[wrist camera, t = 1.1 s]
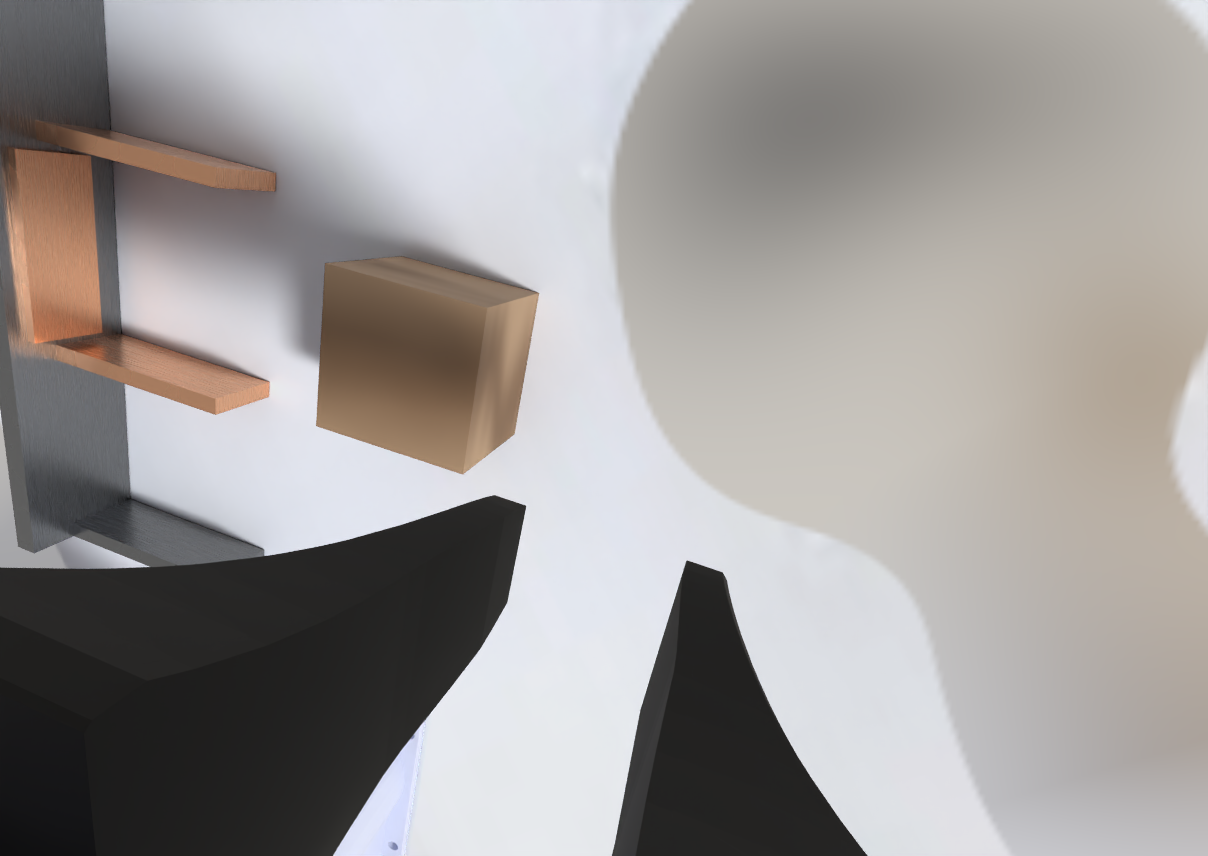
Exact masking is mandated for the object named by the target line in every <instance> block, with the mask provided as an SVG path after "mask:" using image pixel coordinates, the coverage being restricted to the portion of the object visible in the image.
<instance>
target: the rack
mask: <svg viewBox="0 0 1208 856" xmlns="http://www.w3.org/2000/svg"><path fill="white" fill-rule="evenodd" d="M112 160H113V161H117V162H121V163H125V164H128V165H132V166H136V167H139V168H143V169H147V170H151V171H154V172H158V173H162V174H166V175H169V176H173V177H177V178H181V179H184V180H188V181H192V182H195V183H199V184H203V185H207V186H210V187H214V188H226V189H243V190H260V191H275V182H276V173H274V172H270V171H266V170H262V169H258V168H254V167H250V166H246V165H243V164H239V163H235V162H231V161H227V160H223V159H219V158H215V157H212V156H208V155H204V154H200V153H196V152H192V151H188V150H184V149H181V148H177V147H173V146H169V145H165V144H161V143H157V142H153V141H150V140H146V139H142V138H138V137H134V136H130V135H126V134H122V133H119V132H115V131H111V130H110V118H109V100H108V82H107V64H106V46H105V27H104V9H103V0H0V410H1V417H2V425H3V433H4V440H5V447H6V456H7V463H8V471H9V479H10V486H11V494H12V501H13V510H14V517H15V525H16V532H17V540H18V546H19V547H21V548H23V549H25V550H28V551H30V552H33V553H36V552H38V551H40V550H43V549H45V548H47V547H49V546H52V545H54V544H56V543H59V542H61V541H63V540H65V539H68V538H70V537H72V536H75V537H78V538H80V539H83V540H85V541H88V542H90V543H93V544H95V545H98V546H100V547H103V548H105V549H108V550H110V551H113V552H115V553H118V554H120V555H123V556H125V557H128V558H130V559H133V560H135V561H138V562H140V563H143V564H145V565H147V566H150V567H162V566H177V565H192V564H203V563H212V562H220V561H228V560H237V559H245V558H253V557H261V556H264V550H263V549H260V548H258V547H255V546H252V545H250V544H247V543H244V542H242V541H239V540H237V539H234V538H231V537H229V536H226V535H224V534H221V533H218V532H216V531H213V530H210V529H208V528H205V527H203V526H200V525H197V524H195V523H192V522H189V521H187V520H184V519H182V518H179V517H176V516H174V515H171V514H169V513H166V512H163V511H161V510H158V509H155V508H153V507H150V506H148V505H145V504H142V503H140V502H137V501H135V500H132V499H130V481H129V463H128V445H127V427H126V409H125V390H124V384H127V385H130V386H133V387H136V388H139V389H142V390H145V391H148V392H151V393H154V394H157V395H159V396H162V397H165V398H168V399H171V400H174V401H177V402H180V403H183V404H186V405H189V406H191V407H194V408H197V409H200V410H203V411H206V412H209V413H212V414H215V415H216V414H219V413H222V412H225V411H228V410H231V409H234V408H237V407H240V406H243V405H246V404H249V403H252V402H255V401H258V400H261V399H264V398H267V397H269V382H267V381H264V380H261V379H258V378H255V377H252V376H249V375H245V374H242V373H239V372H236V371H233V370H230V369H227V368H224V367H221V366H218V365H215V364H212V363H209V362H206V361H203V360H200V359H197V358H193V357H190V356H187V355H184V354H181V353H178V352H175V351H172V350H169V349H166V348H163V347H160V346H157V345H154V344H151V343H148V342H145V341H141V340H138V339H135V338H132V337H129V336H126V335H123V334H121V318H120V300H119V282H118V263H117V245H116V227H115V209H114V191H113V173H112Z"/></svg>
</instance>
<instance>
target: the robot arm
mask: <svg viewBox="0 0 1208 856" xmlns="http://www.w3.org/2000/svg"><path fill="white" fill-rule="evenodd" d="M525 510H526V506H525V505H522V504H519V503H516V502H513V501H510V500H507V499H504V498H501V497H498V496H495V495H493V496H489V497H485V498H482V499H478V500H475V501H472V502H469V503H466V504H463V505H460V506H457V507H454V508H451V509H449V510H446V511H443V512H440V513H437V514H434V515H431V516H427V517H424V518H421V519H418V520H415V521H412V522H409V523H406V524H403V525H400V526H396V527H392V528H389V529H385V530H382V531H378V532H375V533H371V534H367V535H364V536H360V537H357V538H353V539H350V540H346V541H341V542H337V543H333V544H328V545H324V546H319V547H314V548H309V549H304V550H298V551H293V552H288V553H282V554H276V555H270V556H261V557H253V558H245V559H237V560H228V561H220V562H212V563H203V564H192V565H177V566H162V567H141V568H116V569H49V568H0V856H405V851H406V845H407V838H408V832H409V825H410V819H411V812H412V806H413V799H414V793H415V786H416V780H417V773H418V767H419V760H420V754H421V747H422V741H423V734H424V728H425V720H426V718H427V717H428V716H429V714H430V713H431V712H432V711H433V709H434V708H435V707H436V705H437V704H438V703H439V702H440V700H441V699H442V698H443V696H444V695H445V694H446V693H447V691H448V690H449V689H450V688H451V686H452V685H453V684H454V682H455V681H456V680H457V679H458V677H459V676H460V675H461V673H462V672H463V671H464V669H465V668H466V667H467V666H468V664H469V663H470V662H471V660H472V659H473V658H474V656H475V655H476V654H477V652H478V651H479V650H480V648H481V647H482V645H483V643H484V642H485V640H486V638H487V637H488V635H489V633H490V632H491V630H492V628H493V627H494V625H495V623H496V621H497V620H498V618H499V616H500V614H501V613H502V611H503V609H504V607H505V605H506V604H507V601H508V596H509V591H510V586H511V581H512V576H513V570H514V565H515V560H516V555H517V550H518V545H519V540H520V535H521V530H522V525H523V520H524V515H525ZM612 856H867V854H866V853H865V852H864V851H863V850H862V848H861V847H860V846H859V844H858V843H857V842H856V840H855V839H854V838H853V836H852V835H851V834H850V832H849V831H848V830H847V828H846V827H845V826H844V824H843V823H842V822H841V820H840V819H839V818H838V816H837V815H836V813H835V812H834V810H833V809H832V807H831V806H830V804H829V803H828V802H827V800H826V799H825V797H824V796H823V794H822V793H821V791H820V790H819V789H818V787H817V786H816V784H815V783H814V781H813V780H812V778H811V777H810V775H809V774H808V772H807V771H806V769H805V767H804V766H803V764H802V763H801V761H800V760H799V758H798V756H797V755H796V753H795V751H794V749H793V748H792V746H791V744H790V742H789V741H788V739H787V737H786V735H785V733H784V732H783V730H782V728H781V726H780V724H779V722H778V720H777V718H776V716H775V714H774V712H773V710H772V708H771V706H770V704H769V702H768V700H767V697H766V695H765V693H764V691H763V689H762V686H761V684H760V682H759V680H758V677H757V675H756V672H755V670H754V668H753V665H752V663H751V660H750V657H749V655H748V652H747V649H746V646H745V644H744V641H743V638H742V636H741V633H740V630H739V627H738V624H737V620H736V617H735V613H734V610H733V606H732V603H731V599H730V594H729V590H728V584H727V580H726V578H725V576H724V574H723V572H720V571H717V570H714V569H711V568H708V567H705V566H702V565H699V564H696V563H693V562H690V561H686V564H685V567H684V571H683V574H682V577H681V580H680V584H679V587H678V590H677V593H676V597H675V600H674V603H673V606H672V609H671V613H670V616H669V619H668V622H667V626H666V629H665V632H664V635H663V638H662V642H661V645H660V648H659V651H658V655H657V658H656V661H655V664H654V668H653V671H652V674H651V678H650V681H649V684H648V687H647V691H646V694H645V697H644V701H643V704H642V707H641V710H640V716H639V721H638V726H637V731H636V736H635V741H634V747H633V752H632V757H631V762H630V767H629V773H628V778H627V783H626V788H625V794H624V799H623V804H622V809H621V815H620V820H619V825H618V830H617V835H616V841H615V845H614V850H613V854H612Z"/></svg>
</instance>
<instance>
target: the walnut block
mask: <svg viewBox="0 0 1208 856" xmlns="http://www.w3.org/2000/svg"><path fill="white" fill-rule="evenodd" d="M538 296H539V293H537V292H533V291H529V290H526V289H522V288H518V287H514V286H511V285H507V284H503V283H499V282H496V281H492V280H488V279H485V278H481V277H477V276H473V275H470V274H466V273H462V272H458V271H455V270H451V269H447V268H443V267H440V266H436V265H432V264H428V263H425V262H421V261H417V260H414V259H410V258H406V257H402V256H399V257H388V258H377V259H366V260H355V261H344V262H333V263H325V274H324V292H323V311H322V329H321V347H320V366H319V384H318V403H317V421H316V426H318V427H321V428H324V429H327V430H330V431H333V432H336V433H339V434H342V435H345V436H348V437H351V438H354V439H357V440H360V441H363V442H366V443H369V444H372V445H375V446H378V447H381V448H384V449H387V450H390V451H394V452H397V453H400V454H403V455H406V456H409V457H412V458H415V459H418V460H421V461H424V462H427V463H430V464H433V465H436V466H439V467H442V468H445V469H448V470H451V471H454V472H457V473H460V474H464V473H465V472H466V471H468V470H469V469H470V468H472V467H473V466H474V465H475V464H477V463H478V462H479V461H481V460H482V459H483V458H484V457H486V456H487V455H488V454H490V453H491V452H492V451H493V450H495V449H496V448H497V447H499V446H500V445H501V444H502V443H504V442H505V441H506V440H508V439H509V438H510V437H511V436H513V435H514V433H515V427H516V422H517V416H518V410H519V405H520V399H521V393H522V388H523V382H524V376H525V370H526V365H527V359H528V353H529V348H530V342H531V336H532V330H533V325H534V319H535V313H536V308H537V302H538Z"/></svg>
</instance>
